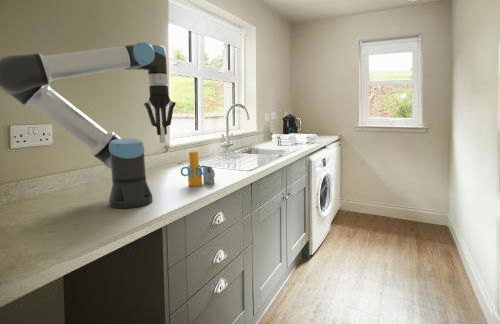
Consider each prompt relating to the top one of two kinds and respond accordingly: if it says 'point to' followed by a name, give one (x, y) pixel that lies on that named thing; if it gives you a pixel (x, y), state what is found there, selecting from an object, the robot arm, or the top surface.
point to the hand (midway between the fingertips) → (162, 142)
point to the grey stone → (208, 175)
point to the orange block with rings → (194, 170)
